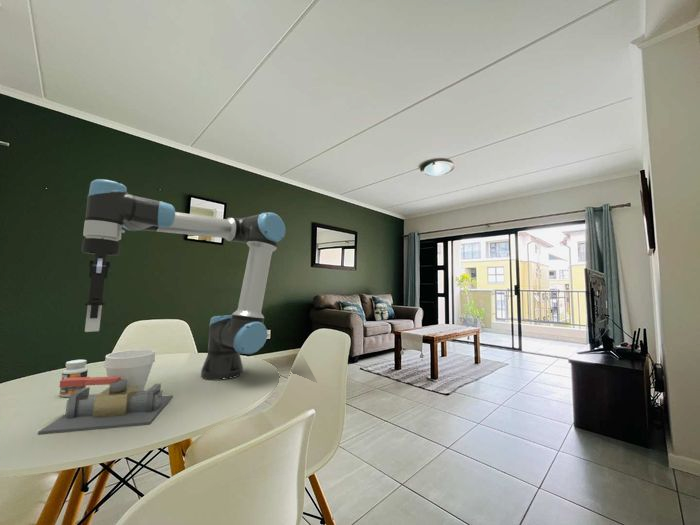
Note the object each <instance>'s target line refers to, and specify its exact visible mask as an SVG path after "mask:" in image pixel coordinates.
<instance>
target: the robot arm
mask: <svg viewBox="0 0 700 525" xmlns="http://www.w3.org/2000/svg"><path fill="white" fill-rule="evenodd" d="M127 190H128V189H127V186H126V185H124V184H123V183H119V182H117V181H115V180H110V179H104V178H102V179H101V178H100V179H99V178H98V179H97V178H96V179H94V180H92V181H91V182H90V184H89V191H88V195H87V196H86V197H87V201H86V202H87V203H86V209H85V220H84V224H83V231H82V232H83V234H82V236H83V237H84V238H83V239H82V243H81V252H82V253H83V254H86V255H94V258H93V260H89V264H88V267H89V274H88V277H89V278H90V279H91V280H90V288H89V297H88V300H87V302H84V303H83V304H84V306H87V308H86V310H87V311H86V317H85V325H84V326H85V327H84V332H85V333H88V332H89V333H92V332H100V327H101V318H102V310H103V305H104V306H105V305H106V302H105V301H103V296H104V295H103V294H104V286H105V279H107V278H108V272H109V268H110V264H111V262H110V261H107V256H109V257H110V256H111V257H115V256H116V257H117V256H120V253H121V246H122V245H121V244H122V243H121V242H120V240H121V239H122V234H124V233H126V230H128V231H130V232H131V231H132V232H138V231H145V232H147V231H148V232H159V233H160V232H161V233H169V234H180V235H190V236H200V237H209V238H210V237H211V238H220V239H225V240H226V241H227V242H235V243H240V244H241V243H243V244H246V245H247V246H248V247H249V250H248V255H247V260H246V266H245V271H244V276H243V280H242V286H241V290H240V296H239V300H238V305H237V309H236V310H235V311H234V312H233V313H232V314H229V315H227V314H226V315H214V316H212V317H211V318H210V320H209V321H210V322H209V330H208V343H207V344H208V345H207V355H206V358H205V360H204V363H203V365H202V367H201V370H200V371H201V372H200V378H202V377H203V378H202V379H204V378H206V379H205V380H209V379H222V380H224V379H223V378H229V379H231V378H230V377H234V376H237V375H239V376H241V375H242V374H243V373H242V372H244V366H243V361H242V358H241V355H243V354H245V355H252V354H255V353H257V352H258V351H259V350H261V349H262V348H263V347H264V345H265V343H266V341H267V338H268V329H267V327H266V325H265V324H264V321H265V316H264V314H262V309H263V304H264V298H265V292H266V289H267V282H268V276H269V271H270V266H271V261H272V255H273V252H276V250H277V248H278V244H279V242H280V241H282V240H283V238H284V237H285V236H286V230H287V229H286V224H285V223H284V221H283V219H282V218H281V217H280V216H279V215H278V214H277V213H275V212H262V213H259V214H255V215H250V216H247V217H227V218H218V217H213V216H205V215H198V214H192V213H187V212H186V213H185V212H178V211H176V208H175V207H174V205H172V204H171V203H167V202H164V201H162V200H161V201H160V200H157V199H156V200H155V199H151V198H147V197H141V196H138V195H135V194H134V195H133V194H130V193H128V191H127ZM123 228H124V229H123ZM240 354H241V355H240ZM241 373H242V374H241ZM240 374H241V375H240ZM237 377H238V376H237ZM234 378H235V377H234Z"/></svg>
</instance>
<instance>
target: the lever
mask: <svg viewBox="0 0 700 525" xmlns="http://www.w3.org/2000/svg"><path fill="white" fill-rule="evenodd" d="M127 381H128V380H127V379H121V376H116V377H108V376H96V377H95V376H92V377H91V376H87V377H73V378H66V379H63V380H61V379H60V380H59V388H60V387H78V386H86V387H87V386H103V385H104V386H105V385H106V386H109V385H110V392H120V391H124V390H126V389H127Z"/></svg>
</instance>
